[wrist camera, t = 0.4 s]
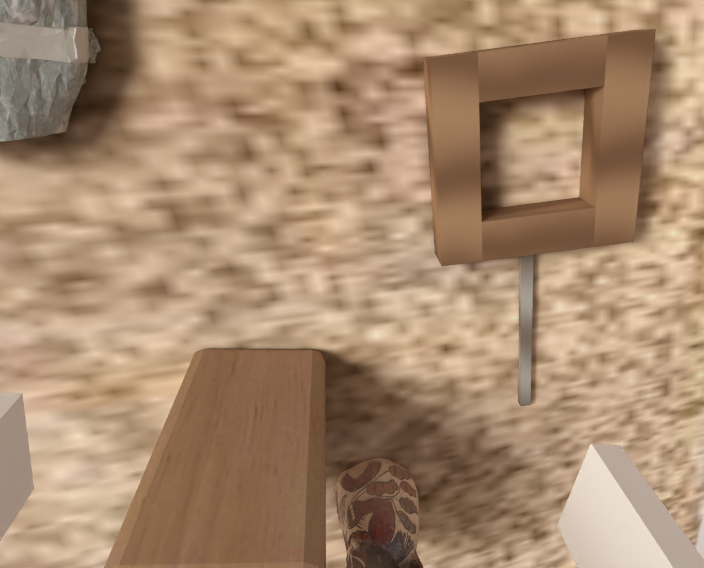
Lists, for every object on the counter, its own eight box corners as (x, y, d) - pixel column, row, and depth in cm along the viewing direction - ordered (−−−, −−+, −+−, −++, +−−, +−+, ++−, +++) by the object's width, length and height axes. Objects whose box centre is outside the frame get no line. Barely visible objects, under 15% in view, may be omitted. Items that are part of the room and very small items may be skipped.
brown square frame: (423, 57, 33) (430, 58, 31) (632, 30, 33) (655, 29, 31) (444, 411, 44) (451, 430, 42) (601, 391, 44) (616, 410, 42)
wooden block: (325, 344, 41) (326, 582, 23) (323, 447, 45) (322, 719, 27) (193, 343, 41) (85, 586, 22) (203, 447, 45) (119, 725, 27)
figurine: (347, 450, 46) (354, 578, 35) (426, 465, 47) (457, 594, 36) (326, 511, 48) (326, 648, 37) (401, 524, 49) (423, 661, 38)
